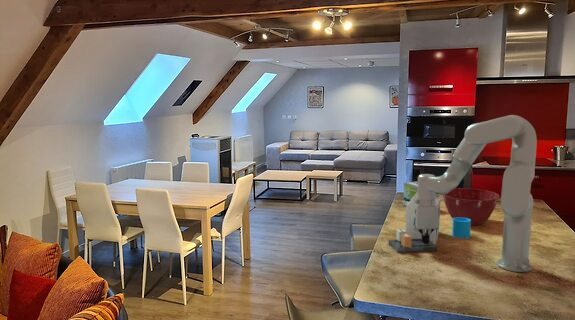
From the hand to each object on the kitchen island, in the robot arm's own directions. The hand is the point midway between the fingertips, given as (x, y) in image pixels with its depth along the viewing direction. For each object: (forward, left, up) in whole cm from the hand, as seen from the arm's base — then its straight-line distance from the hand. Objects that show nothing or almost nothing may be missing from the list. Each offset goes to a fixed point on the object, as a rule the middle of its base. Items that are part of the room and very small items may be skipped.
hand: (425, 243), depth 203 cm
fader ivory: (+8, +8, -1) cm, 12 cm away
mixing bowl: (+41, -42, -3) cm, 59 cm away
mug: (+19, -27, -3) cm, 33 cm away
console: (+4, +4, -3) cm, 7 cm away
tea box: (+75, -27, -3) cm, 80 cm away
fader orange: (0, +9, -1) cm, 9 cm away
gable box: (+19, -7, -4) cm, 21 cm away
